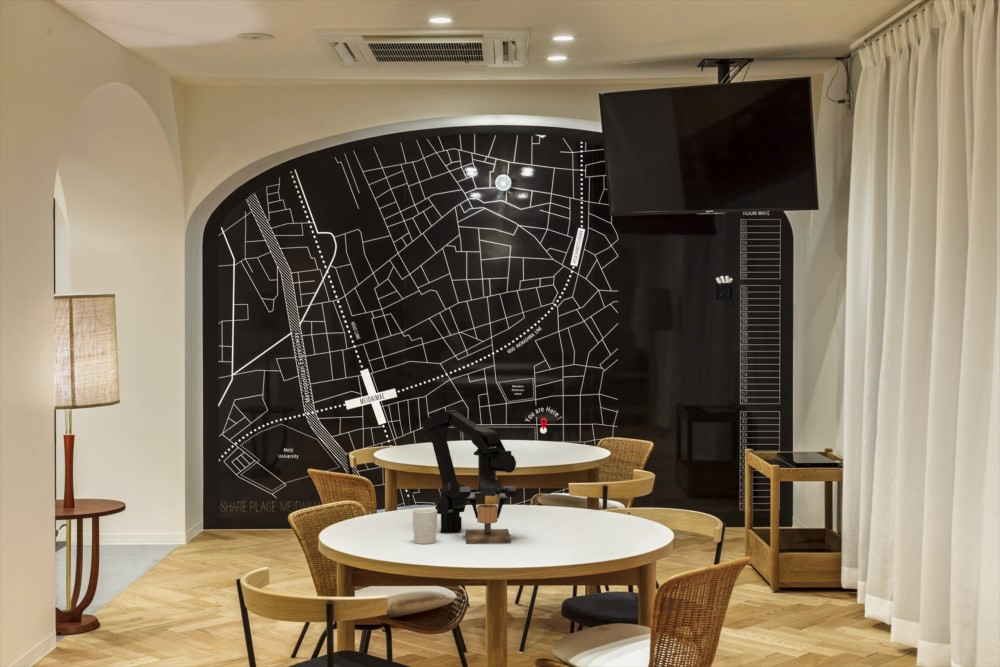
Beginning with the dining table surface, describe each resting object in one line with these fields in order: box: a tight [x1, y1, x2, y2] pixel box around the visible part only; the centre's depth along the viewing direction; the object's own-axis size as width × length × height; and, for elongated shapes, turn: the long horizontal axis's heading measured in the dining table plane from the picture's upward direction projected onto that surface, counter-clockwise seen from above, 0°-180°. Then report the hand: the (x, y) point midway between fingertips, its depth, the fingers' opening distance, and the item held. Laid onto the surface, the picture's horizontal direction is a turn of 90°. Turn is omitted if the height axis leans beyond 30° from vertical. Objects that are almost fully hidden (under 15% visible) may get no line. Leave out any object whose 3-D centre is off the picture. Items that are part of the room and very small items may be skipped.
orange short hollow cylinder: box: [476, 504, 498, 524], centre depth 311 cm, size 6×6×5 cm
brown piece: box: [465, 523, 512, 545], centre depth 311 cm, size 14×16×6 cm
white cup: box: [412, 508, 438, 545], centre depth 306 cm, size 8×8×10 cm
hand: (487, 518), depth 311 cm, fingers closed on orange short hollow cylinder, 6 cm apart
